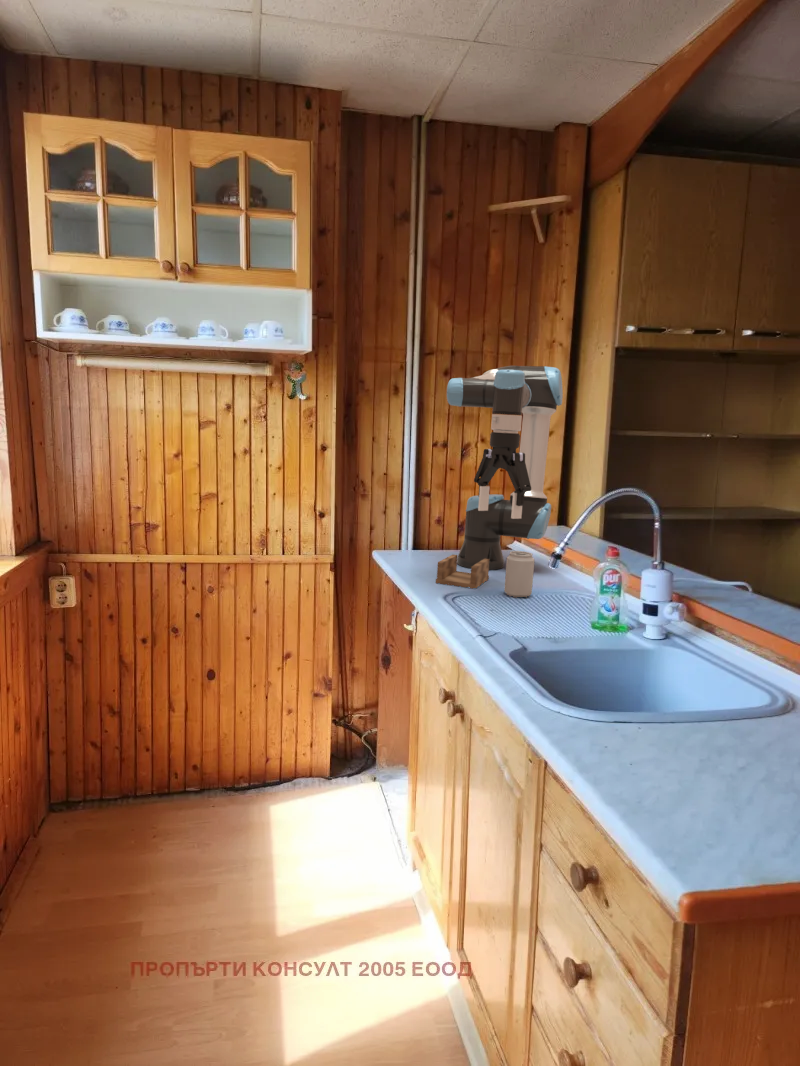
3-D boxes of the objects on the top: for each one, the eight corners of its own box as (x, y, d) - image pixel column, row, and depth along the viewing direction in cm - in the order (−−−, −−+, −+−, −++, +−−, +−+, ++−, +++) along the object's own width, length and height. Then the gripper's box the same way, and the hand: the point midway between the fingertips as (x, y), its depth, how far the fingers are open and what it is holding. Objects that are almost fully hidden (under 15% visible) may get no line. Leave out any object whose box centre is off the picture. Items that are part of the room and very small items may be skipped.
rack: (450, 574, 221) (452, 554, 220) (488, 579, 217) (490, 559, 216) (435, 583, 208) (437, 562, 207) (475, 588, 204) (477, 567, 203)
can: (530, 592, 203) (533, 551, 201) (532, 599, 195) (536, 556, 193) (503, 590, 203) (506, 549, 201) (504, 597, 196) (508, 554, 194)
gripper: (464, 428, 192) (459, 507, 196) (526, 434, 172) (519, 522, 175) (486, 429, 196) (481, 507, 200) (550, 435, 175) (542, 521, 179)
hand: (499, 514), depth 188 cm, fingers open, 13 cm apart
